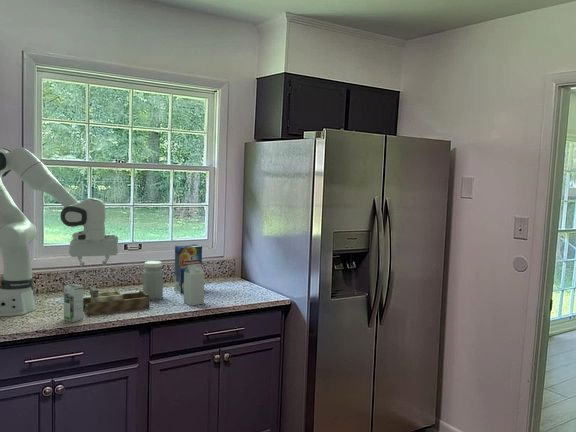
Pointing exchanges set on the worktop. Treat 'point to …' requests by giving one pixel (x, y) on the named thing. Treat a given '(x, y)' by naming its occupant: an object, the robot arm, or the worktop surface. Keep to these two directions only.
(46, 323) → the worktop surface
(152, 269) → the jar
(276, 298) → the worktop surface
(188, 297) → the milk carton
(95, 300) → the drawer
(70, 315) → the syrup box
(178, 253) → the juice carton
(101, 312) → the bay
